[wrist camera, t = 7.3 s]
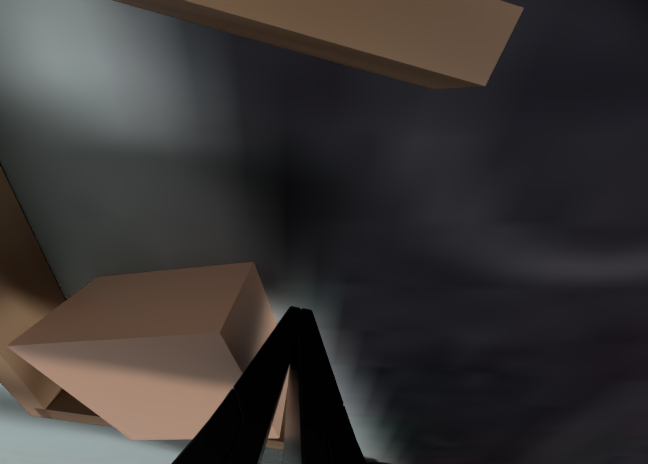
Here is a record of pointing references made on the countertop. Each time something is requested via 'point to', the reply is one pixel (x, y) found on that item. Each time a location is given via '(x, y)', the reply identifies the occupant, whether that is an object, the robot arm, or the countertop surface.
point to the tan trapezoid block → (155, 346)
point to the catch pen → (287, 32)
